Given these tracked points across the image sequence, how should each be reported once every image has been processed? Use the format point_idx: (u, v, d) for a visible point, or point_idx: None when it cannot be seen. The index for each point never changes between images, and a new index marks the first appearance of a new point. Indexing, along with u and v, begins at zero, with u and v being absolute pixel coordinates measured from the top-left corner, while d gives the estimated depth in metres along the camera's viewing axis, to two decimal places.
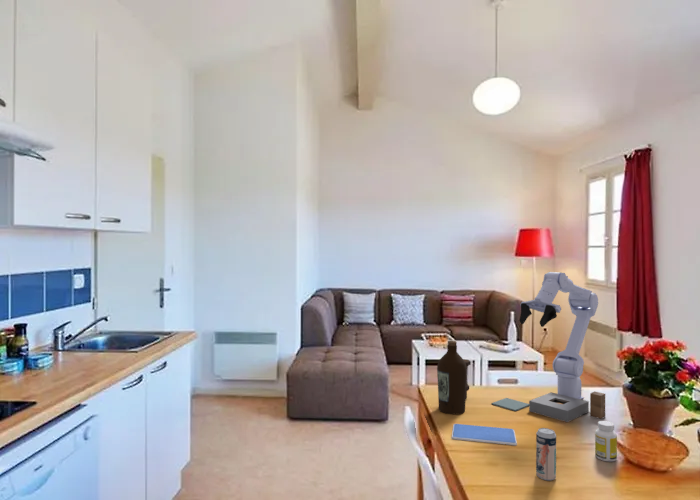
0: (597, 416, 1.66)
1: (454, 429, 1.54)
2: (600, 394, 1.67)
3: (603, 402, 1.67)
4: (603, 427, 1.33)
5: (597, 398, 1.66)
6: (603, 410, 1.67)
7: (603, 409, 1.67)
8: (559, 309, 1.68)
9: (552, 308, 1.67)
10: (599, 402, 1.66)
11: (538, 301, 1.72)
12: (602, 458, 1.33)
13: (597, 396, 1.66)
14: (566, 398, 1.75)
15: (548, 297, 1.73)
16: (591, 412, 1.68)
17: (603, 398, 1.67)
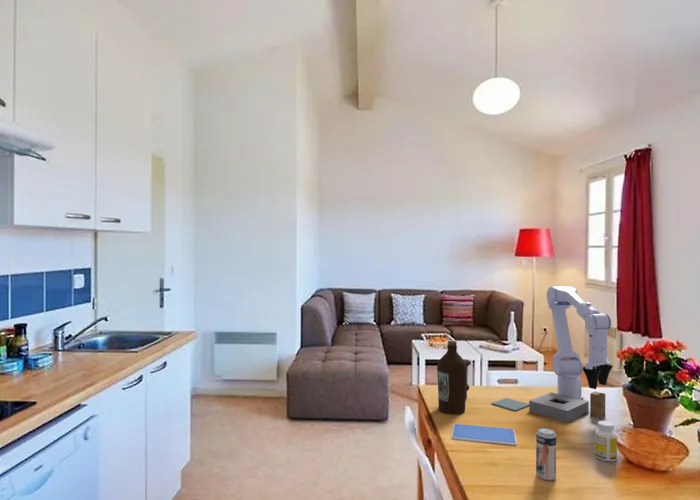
0: (597, 416, 1.66)
1: (454, 429, 1.54)
2: (600, 394, 1.67)
3: (603, 402, 1.67)
4: (603, 427, 1.33)
5: (597, 398, 1.66)
6: (603, 410, 1.67)
7: (603, 409, 1.67)
8: None
9: None
10: (599, 402, 1.66)
11: (606, 363, 1.66)
12: (602, 458, 1.33)
13: (597, 396, 1.66)
14: (566, 398, 1.75)
15: None
16: (591, 412, 1.68)
17: (603, 398, 1.67)
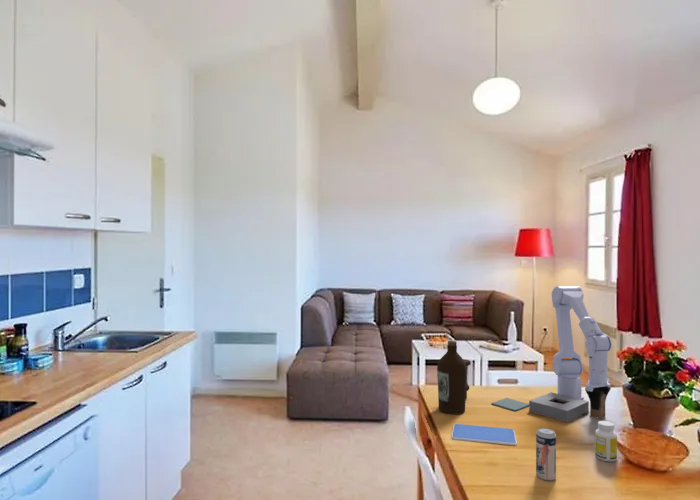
0: (597, 416, 1.66)
1: (454, 429, 1.54)
2: None
3: (603, 402, 1.67)
4: (603, 427, 1.33)
5: None
6: (603, 410, 1.67)
7: (603, 409, 1.67)
8: None
9: None
10: None
11: (606, 385, 1.66)
12: (602, 458, 1.33)
13: None
14: (566, 398, 1.75)
15: None
16: (591, 412, 1.68)
17: (603, 398, 1.67)
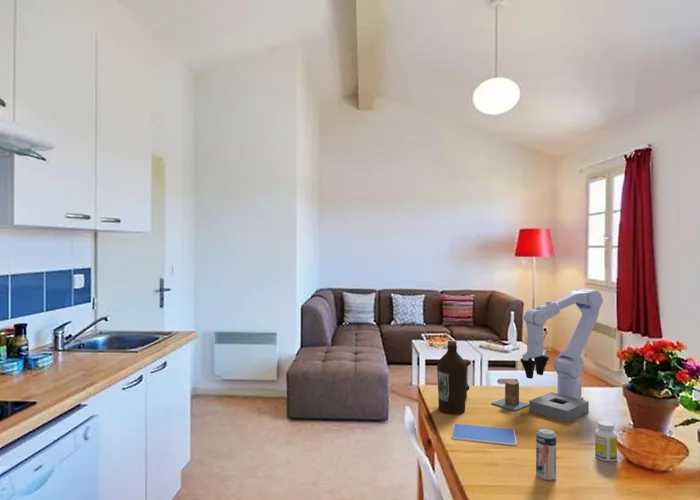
0: (510, 404, 1.78)
1: (454, 429, 1.54)
2: (514, 383, 1.78)
3: (516, 390, 1.78)
4: (603, 427, 1.33)
5: (511, 387, 1.77)
6: (516, 398, 1.78)
7: (516, 397, 1.78)
8: None
9: None
10: (512, 390, 1.77)
11: (541, 355, 1.81)
12: (602, 458, 1.33)
13: (511, 385, 1.77)
14: (566, 398, 1.75)
15: None
16: (506, 400, 1.79)
17: (516, 387, 1.78)
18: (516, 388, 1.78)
